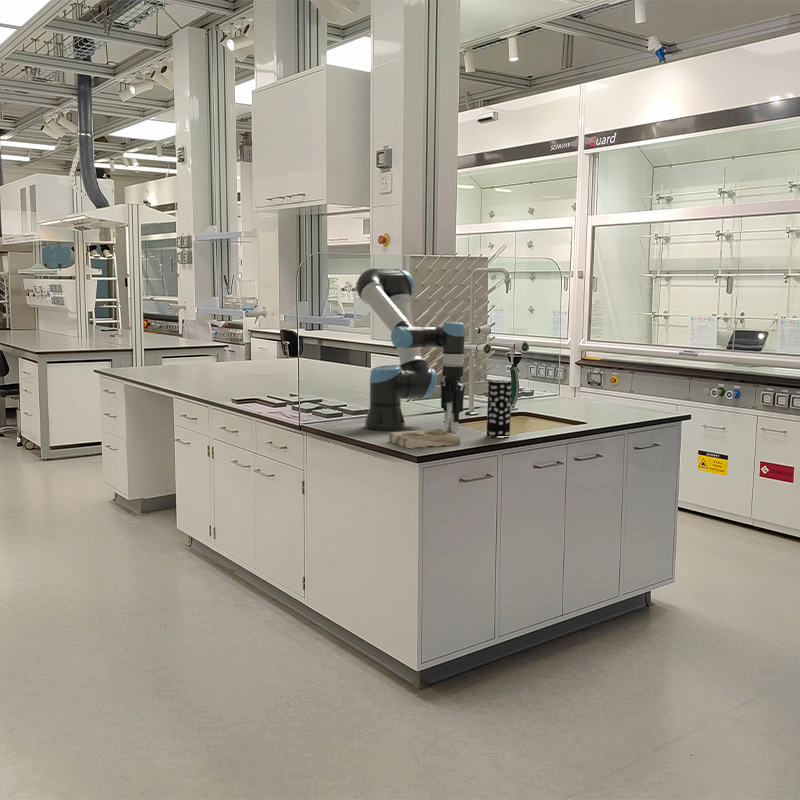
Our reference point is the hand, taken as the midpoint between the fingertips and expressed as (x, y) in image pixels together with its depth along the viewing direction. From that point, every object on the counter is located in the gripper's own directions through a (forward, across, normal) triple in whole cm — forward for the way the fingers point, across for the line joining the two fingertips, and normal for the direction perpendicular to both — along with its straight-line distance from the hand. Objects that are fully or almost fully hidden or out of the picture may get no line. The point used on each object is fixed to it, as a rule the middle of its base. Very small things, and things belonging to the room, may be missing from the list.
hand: (451, 429), depth 287 cm
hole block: (+2, -9, +16) cm, 18 cm away
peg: (+2, 0, 0) cm, 2 cm away
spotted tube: (+2, -8, -15) cm, 17 cm away
